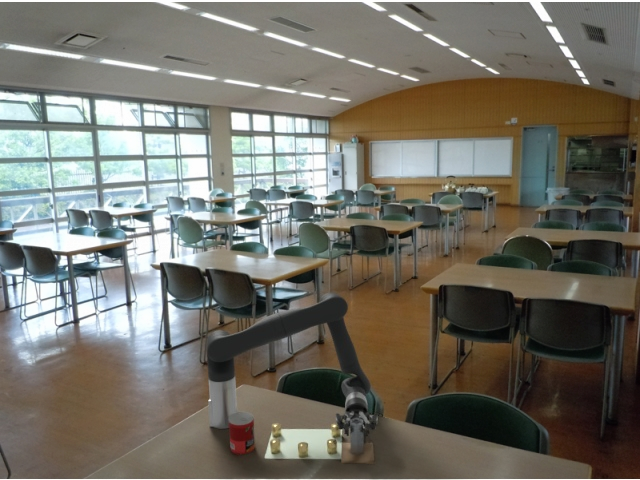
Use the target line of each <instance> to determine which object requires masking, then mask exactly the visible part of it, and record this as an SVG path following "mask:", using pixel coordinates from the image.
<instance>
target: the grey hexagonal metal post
mask: <svg viewBox="0 0 640 480" xmlns="http://www.w3.org/2000/svg"><path fill="white" fill-rule="evenodd" d="M349 437H350V438H349V439H350V443H351V453H352V454H355V455H360V454H363V453H364V449H363V443H364V428H363V419H359V418H354V419H350V428H349Z"/></svg>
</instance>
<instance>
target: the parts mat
mask: <svg viewBox="0 0 640 480" xmlns="http://www.w3.org/2000/svg"><path fill="white" fill-rule="evenodd" d="M281 434H282V435H281V436H280V437H277V438H275V437H273V436H272V432H271V434H270V436H269V440H268V444H267V448H266V451H265V454H264V459H267V460H270V459H272V460H273V459H276V460H277V459H278V460H279V459H280V460H283V459H284V460H287V459H288V460H299V459H300V460H341V451H342V443H343V429H341V436H340V437H338V438H333V437H332V436H331V428H327V429H326V428H325V429H324V428H322V429H321V428H313V429H311V428H292V429H291V428H281ZM272 439H279V440H280V447H281V452H280V453H279V454H272V453H271V449H270V441H271V440H272ZM329 439H335V440H337V453H336V454H333V455H331V454H328V453H327V440H329ZM300 442H306V443H308V457H306V458H300V457H299V456H298V444H299V443H300Z"/></svg>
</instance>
